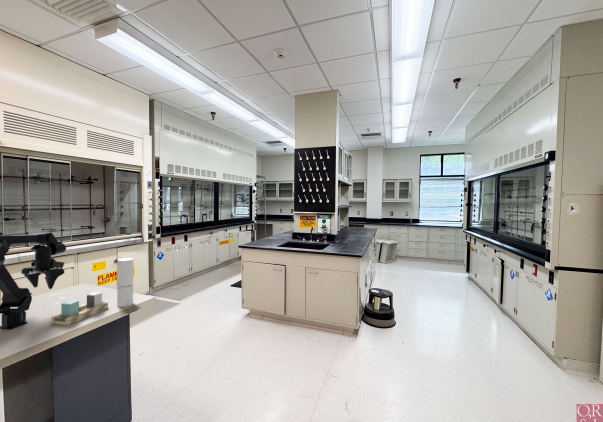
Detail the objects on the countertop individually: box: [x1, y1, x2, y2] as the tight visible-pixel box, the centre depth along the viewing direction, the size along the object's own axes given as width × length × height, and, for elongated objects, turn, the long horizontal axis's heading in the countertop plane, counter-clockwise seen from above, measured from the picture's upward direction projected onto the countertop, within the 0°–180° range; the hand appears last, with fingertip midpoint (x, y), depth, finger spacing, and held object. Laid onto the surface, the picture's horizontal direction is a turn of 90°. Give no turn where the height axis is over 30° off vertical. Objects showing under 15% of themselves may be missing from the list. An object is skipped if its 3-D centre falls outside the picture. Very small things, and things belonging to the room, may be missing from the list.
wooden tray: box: [50, 301, 109, 326], centre depth 125 cm, size 20×9×3 cm, turn 171°
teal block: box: [60, 300, 80, 317], centre depth 119 cm, size 4×5×7 cm
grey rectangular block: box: [86, 291, 103, 308], centre depth 131 cm, size 4×5×7 cm
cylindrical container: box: [116, 257, 134, 308], centre depth 139 cm, size 7×7×25 cm
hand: (43, 288), depth 127 cm, fingers open, 9 cm apart
